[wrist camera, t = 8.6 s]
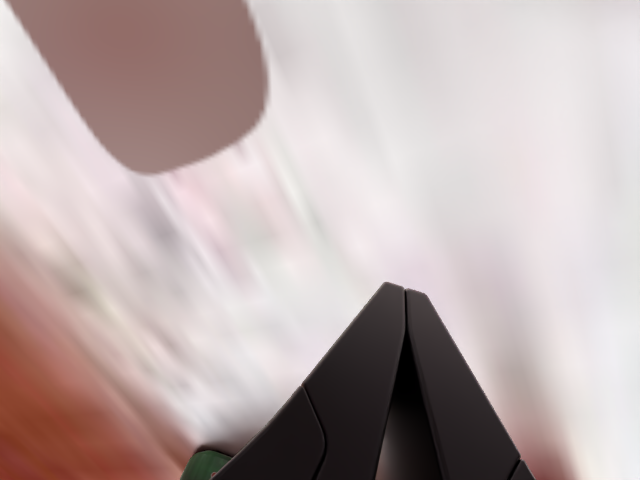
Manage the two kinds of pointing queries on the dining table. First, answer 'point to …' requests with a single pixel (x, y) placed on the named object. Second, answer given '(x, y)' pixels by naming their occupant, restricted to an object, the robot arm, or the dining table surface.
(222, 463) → the coffee jar
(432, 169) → the dining table surface
